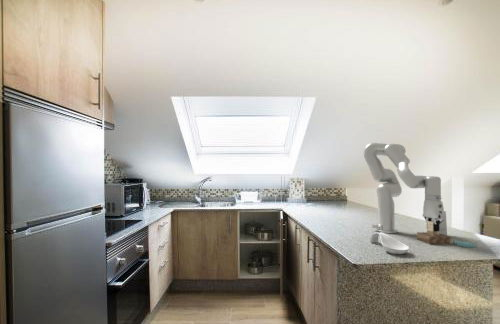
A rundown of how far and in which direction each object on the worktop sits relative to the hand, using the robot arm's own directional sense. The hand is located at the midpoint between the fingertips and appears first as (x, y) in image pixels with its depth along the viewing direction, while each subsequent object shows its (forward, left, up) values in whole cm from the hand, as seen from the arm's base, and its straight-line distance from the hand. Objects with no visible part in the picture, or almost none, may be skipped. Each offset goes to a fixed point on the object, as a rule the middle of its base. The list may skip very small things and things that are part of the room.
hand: (432, 229), depth 149 cm
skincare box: (+13, +14, -7) cm, 20 cm away
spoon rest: (-34, -12, -7) cm, 37 cm away
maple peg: (0, 0, -5) cm, 5 cm away
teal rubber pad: (+12, -7, -7) cm, 15 cm away
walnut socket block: (0, 0, -7) cm, 7 cm away
